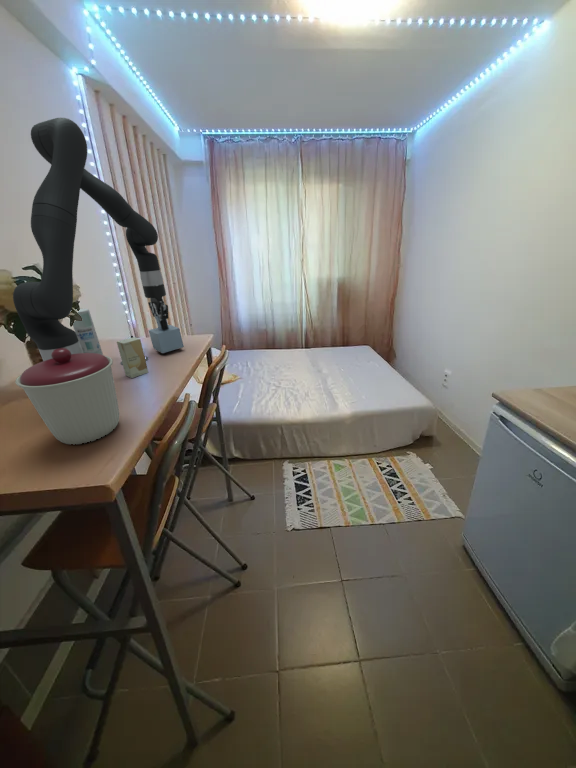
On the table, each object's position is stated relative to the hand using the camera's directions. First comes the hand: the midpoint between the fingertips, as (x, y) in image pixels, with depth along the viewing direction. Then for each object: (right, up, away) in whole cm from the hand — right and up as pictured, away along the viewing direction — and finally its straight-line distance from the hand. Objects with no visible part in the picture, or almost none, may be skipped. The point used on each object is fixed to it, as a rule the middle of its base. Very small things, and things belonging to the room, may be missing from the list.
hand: (163, 328), depth 125 cm
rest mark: (-9, -13, -4) cm, 17 cm away
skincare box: (-2, -19, -16) cm, 25 cm away
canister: (+2, -34, -49) cm, 59 cm away
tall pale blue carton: (-25, -14, -3) cm, 29 cm away
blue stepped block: (+1, -7, +4) cm, 8 cm away
